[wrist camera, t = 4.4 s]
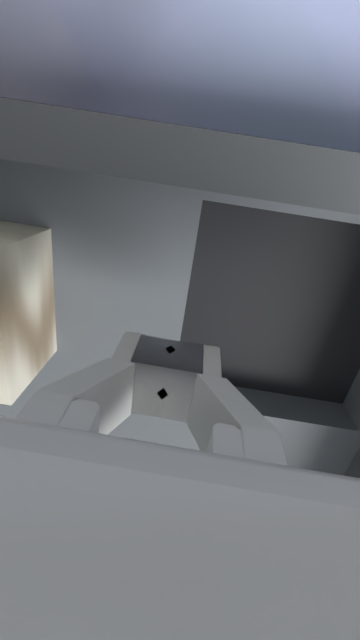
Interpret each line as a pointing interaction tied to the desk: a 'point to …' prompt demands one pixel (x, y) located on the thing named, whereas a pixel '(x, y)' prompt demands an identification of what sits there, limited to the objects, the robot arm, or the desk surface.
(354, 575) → the robot arm
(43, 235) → the block
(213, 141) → the tray
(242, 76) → the desk surface
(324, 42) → the desk surface
